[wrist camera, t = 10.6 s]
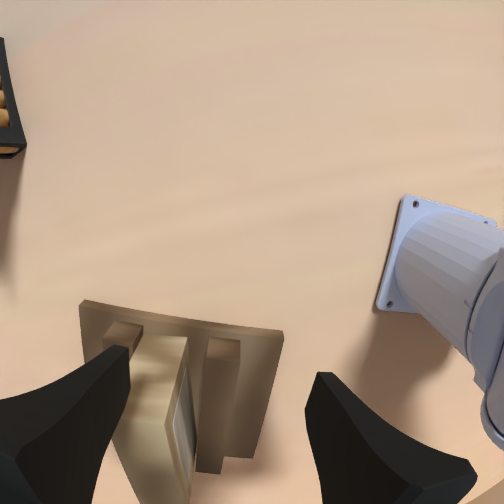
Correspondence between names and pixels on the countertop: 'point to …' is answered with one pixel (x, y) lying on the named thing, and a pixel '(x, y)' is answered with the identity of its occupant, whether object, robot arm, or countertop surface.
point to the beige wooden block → (159, 422)
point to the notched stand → (202, 372)
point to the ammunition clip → (8, 113)
